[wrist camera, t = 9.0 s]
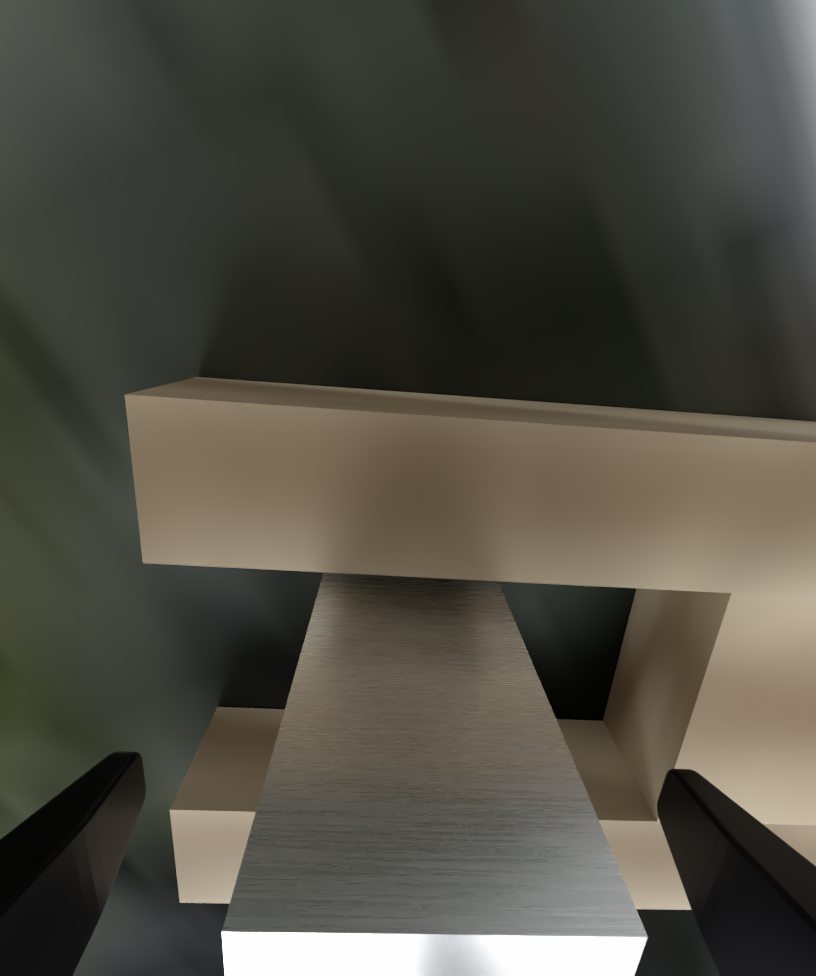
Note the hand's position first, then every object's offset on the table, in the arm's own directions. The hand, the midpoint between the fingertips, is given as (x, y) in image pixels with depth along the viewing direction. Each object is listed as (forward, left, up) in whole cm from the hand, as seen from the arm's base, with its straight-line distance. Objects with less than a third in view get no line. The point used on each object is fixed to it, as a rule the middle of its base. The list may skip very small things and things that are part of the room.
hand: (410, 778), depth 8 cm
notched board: (0, -3, -5) cm, 6 cm away
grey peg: (0, 0, -5) cm, 5 cm away
